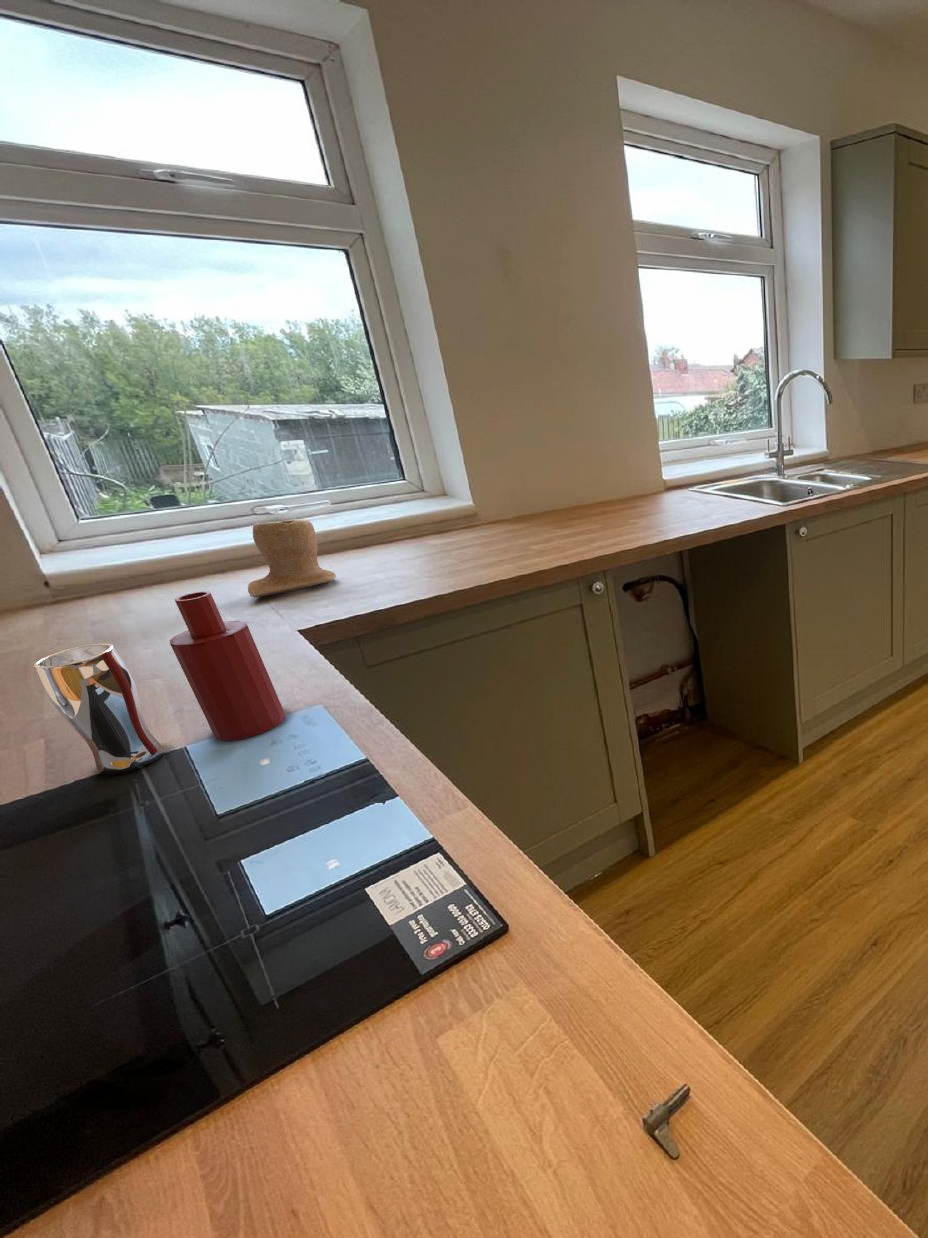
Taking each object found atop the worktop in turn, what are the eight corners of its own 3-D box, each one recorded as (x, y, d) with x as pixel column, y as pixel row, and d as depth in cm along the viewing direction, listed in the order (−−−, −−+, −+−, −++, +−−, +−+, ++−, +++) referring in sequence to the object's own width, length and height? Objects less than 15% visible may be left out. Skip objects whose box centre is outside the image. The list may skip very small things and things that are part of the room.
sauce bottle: (217, 747, 87) (152, 612, 80) (213, 727, 92) (151, 597, 85) (289, 724, 92) (234, 594, 84) (281, 705, 97) (228, 581, 89)
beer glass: (116, 752, 87) (58, 648, 81) (181, 741, 89) (129, 638, 83) (79, 783, 81) (13, 672, 75) (149, 771, 83) (91, 662, 77)
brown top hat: (333, 573, 156) (310, 509, 150) (340, 585, 147) (316, 518, 141) (250, 590, 147) (222, 523, 141) (253, 604, 138) (223, 533, 133)
